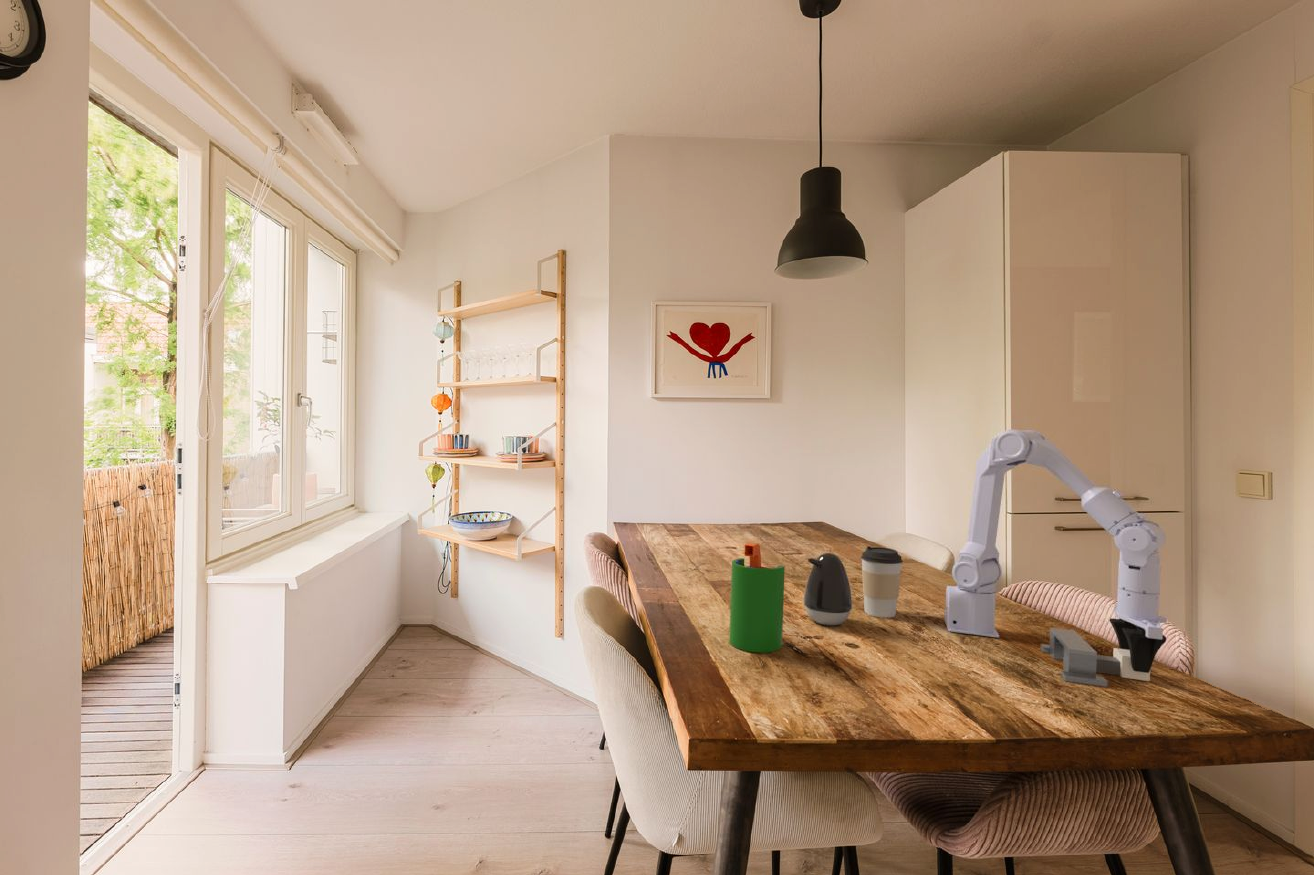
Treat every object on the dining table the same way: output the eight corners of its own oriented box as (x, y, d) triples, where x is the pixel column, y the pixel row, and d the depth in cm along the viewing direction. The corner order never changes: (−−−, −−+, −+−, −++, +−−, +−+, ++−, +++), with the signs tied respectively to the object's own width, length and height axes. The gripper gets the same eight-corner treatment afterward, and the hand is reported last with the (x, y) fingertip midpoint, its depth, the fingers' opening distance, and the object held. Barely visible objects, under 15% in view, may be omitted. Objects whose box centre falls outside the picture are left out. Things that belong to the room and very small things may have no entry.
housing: (1065, 680, 101) (1066, 652, 101) (1040, 648, 116) (1041, 623, 116) (1107, 687, 99) (1108, 657, 98) (1076, 653, 114) (1077, 627, 113)
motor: (785, 641, 116) (788, 540, 116) (775, 657, 108) (778, 548, 108) (736, 632, 120) (739, 535, 120) (722, 647, 112) (725, 543, 112)
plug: (1090, 673, 104) (1091, 651, 104) (1083, 664, 108) (1084, 644, 108) (1149, 681, 101) (1150, 659, 101) (1139, 672, 105) (1140, 651, 105)
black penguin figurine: (793, 616, 132) (795, 549, 131) (831, 612, 135) (833, 547, 135) (821, 632, 122) (823, 559, 122) (861, 627, 126) (863, 556, 126)
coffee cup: (904, 611, 138) (906, 547, 137) (896, 621, 130) (899, 554, 130) (864, 604, 142) (866, 543, 142) (855, 614, 135) (857, 549, 135)
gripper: (1187, 603, 95) (1183, 686, 95) (1148, 582, 109) (1145, 655, 109) (1134, 598, 98) (1130, 679, 98) (1102, 578, 111) (1099, 649, 112)
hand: (1135, 666), depth 104 cm, fingers closed on plug, 4 cm apart
